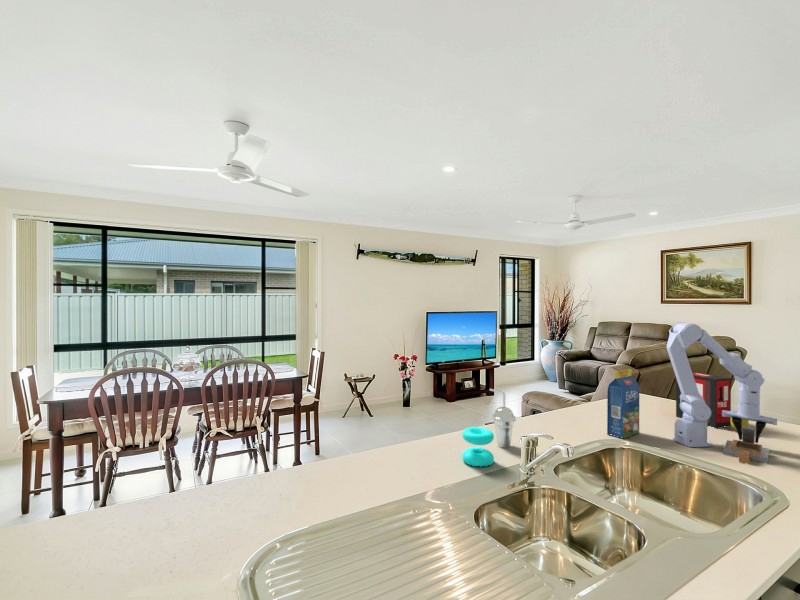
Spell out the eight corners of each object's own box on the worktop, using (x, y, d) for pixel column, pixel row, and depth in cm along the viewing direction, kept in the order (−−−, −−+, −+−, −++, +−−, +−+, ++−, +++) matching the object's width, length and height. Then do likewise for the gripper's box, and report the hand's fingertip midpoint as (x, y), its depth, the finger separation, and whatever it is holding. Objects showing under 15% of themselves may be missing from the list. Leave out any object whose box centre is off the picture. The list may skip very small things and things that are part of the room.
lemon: (732, 433, 154) (732, 412, 154) (728, 428, 159) (728, 409, 159) (750, 435, 152) (750, 414, 152) (746, 431, 157) (746, 411, 156)
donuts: (460, 434, 123) (464, 424, 132) (460, 466, 123) (464, 454, 132) (493, 437, 120) (494, 427, 129) (493, 470, 120) (494, 457, 130)
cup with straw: (506, 452, 134) (506, 393, 134) (485, 444, 141) (485, 389, 141) (520, 446, 139) (521, 390, 139) (499, 439, 146) (500, 385, 146)
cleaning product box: (730, 426, 163) (730, 378, 162) (715, 428, 160) (715, 379, 160) (690, 415, 178) (690, 371, 178) (676, 416, 176) (676, 372, 176)
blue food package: (639, 433, 153) (640, 370, 153) (623, 439, 146) (623, 373, 146) (623, 429, 158) (623, 367, 158) (606, 434, 152) (607, 370, 152)
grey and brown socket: (767, 468, 122) (767, 458, 122) (721, 458, 130) (721, 449, 130) (769, 454, 133) (769, 445, 133) (727, 445, 141) (727, 437, 141)
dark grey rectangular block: (753, 450, 137) (753, 430, 137) (742, 447, 139) (742, 428, 139) (754, 447, 140) (754, 427, 140) (743, 444, 142) (743, 425, 142)
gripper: (777, 404, 137) (777, 443, 137) (723, 396, 147) (723, 432, 147) (776, 408, 132) (776, 448, 132) (721, 400, 142) (721, 437, 142)
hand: (748, 440), depth 139 cm, fingers open, 4 cm apart
